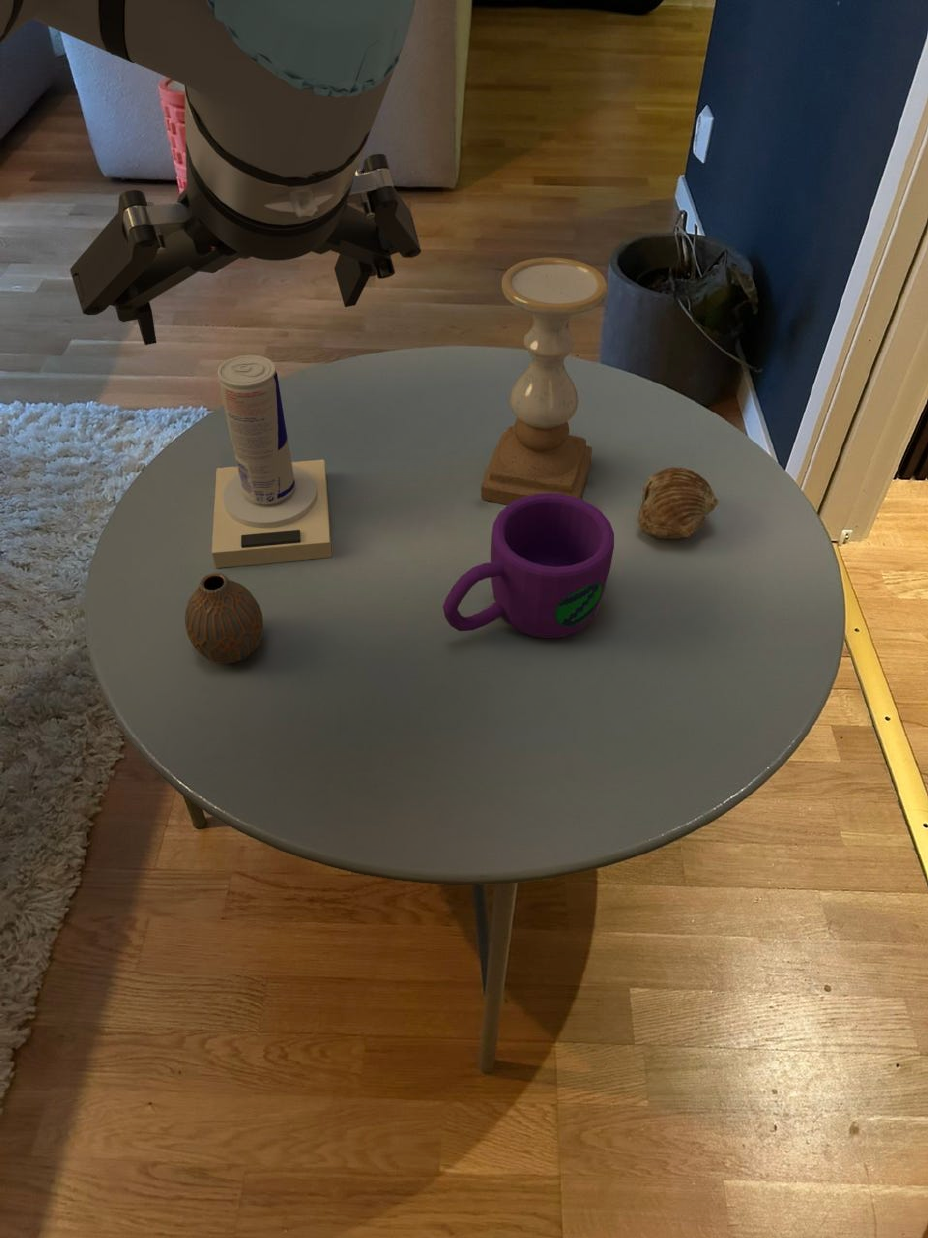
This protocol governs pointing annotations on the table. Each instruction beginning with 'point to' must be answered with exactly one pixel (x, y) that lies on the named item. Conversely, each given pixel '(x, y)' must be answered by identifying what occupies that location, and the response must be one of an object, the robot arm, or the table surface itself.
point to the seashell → (675, 503)
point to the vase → (223, 620)
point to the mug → (541, 567)
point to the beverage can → (257, 427)
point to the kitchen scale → (271, 520)
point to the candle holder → (544, 384)
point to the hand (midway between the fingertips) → (247, 304)
